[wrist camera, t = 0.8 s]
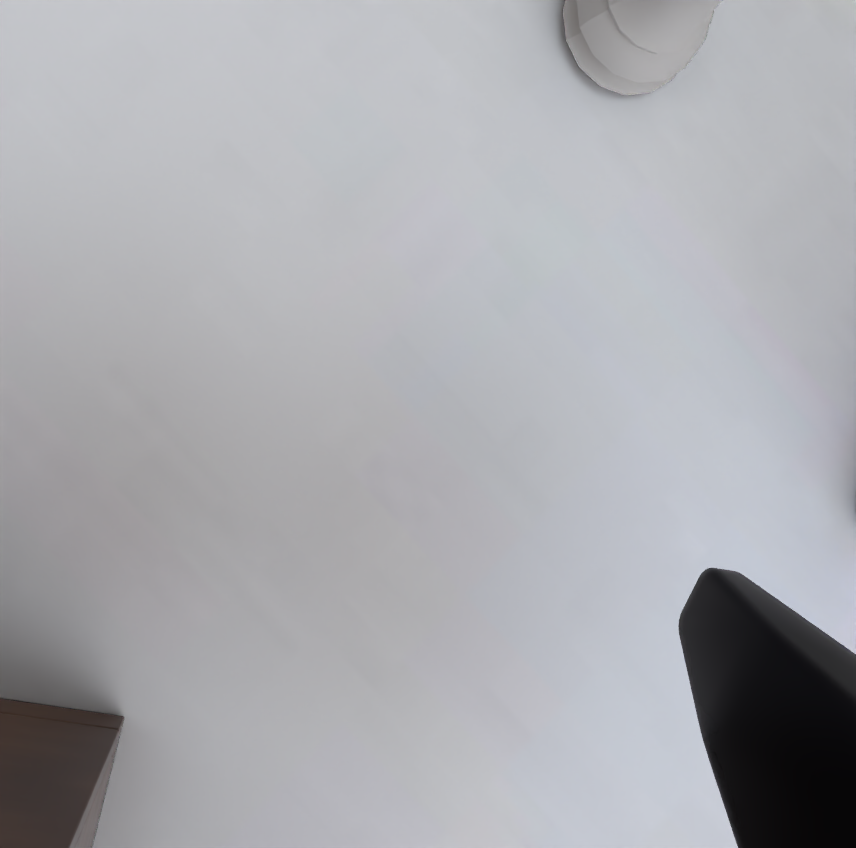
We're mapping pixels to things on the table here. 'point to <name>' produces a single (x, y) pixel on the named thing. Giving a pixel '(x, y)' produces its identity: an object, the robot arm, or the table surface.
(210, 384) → the table surface
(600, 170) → the table surface
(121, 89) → the table surface
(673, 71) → the rook chess piece
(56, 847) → the cabinet
